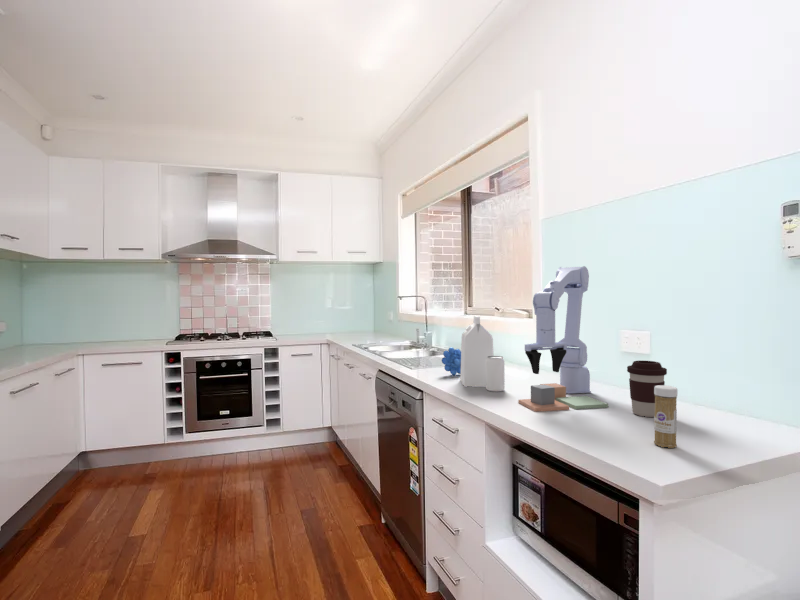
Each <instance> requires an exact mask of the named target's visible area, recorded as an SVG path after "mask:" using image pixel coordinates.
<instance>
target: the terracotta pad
mask: <svg viewBox="0 0 800 600" xmlns="http://www.w3.org/2000/svg"><path fill="white" fill-rule="evenodd" d="M517 402H518V404H519V405H521V406H524V407H525V408H527V409H529V410H531V411H533V412H535V413H537V412H551V411H565V410H566V411H568V410H570V407H569V406H568V405H565V404H563V403H561V402H558V401H556V400H555V404H548V405H539V404H536V403H533V402H531V398H528V399H527V398H526V399H518V401H517Z"/></svg>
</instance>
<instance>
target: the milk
mask: <svg viewBox="0 0 800 600" xmlns="http://www.w3.org/2000/svg"><path fill="white" fill-rule="evenodd" d="M460 346H461V347H460V348H461V349H460V351H461V374H460V383H461V384H462V386H463V385H464V386H463V387H464V388H465V387H467V386H472V387H474V388H475V387H480V388H481V387H482V388H483V387H485V388H486V360H487V358H488V356H495V355H494V339H493V335H492V334H491V333H490V332H489V331H488V330H487V329H486V328H485V327H484V326H483V325H482V324H481V316H479V315H474V316H473V323H471V324H468V325H467V326H466V328H465V329H464V331H463V333H461V344H460ZM467 388H468V387H467Z"/></svg>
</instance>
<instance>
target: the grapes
mask: <svg viewBox="0 0 800 600" xmlns="http://www.w3.org/2000/svg"><path fill="white" fill-rule="evenodd" d="M442 355H443V357H442V359H441V363H442V364H443V366H444V368H443V369H444V370H445V371H446V372H449V373H450V374H451V375H452V376H455V375H457V374H458V375H461V349H460V348H456V349H455V348H454V347H452V346H450V347H448V350H444V351H443V353H442Z"/></svg>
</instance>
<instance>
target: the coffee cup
mask: <svg viewBox="0 0 800 600" xmlns="http://www.w3.org/2000/svg"><path fill="white" fill-rule="evenodd" d="M626 368H627V369H626V371H627V373H629V378H628V381H629V396H630V399H631V411H632V413H633V414H634V415H636V416H639V417H644V416H645V417H646V418H654V416H655V394H654V387H655V386H657V385H666V384H665V383H666V382H665V376H667V374H668V369H667V368H666V367H663V365H662V363H661V362H659V361H653V360H635V361H632V364H631V365H627V367H626ZM645 417H644V418H645Z"/></svg>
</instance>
